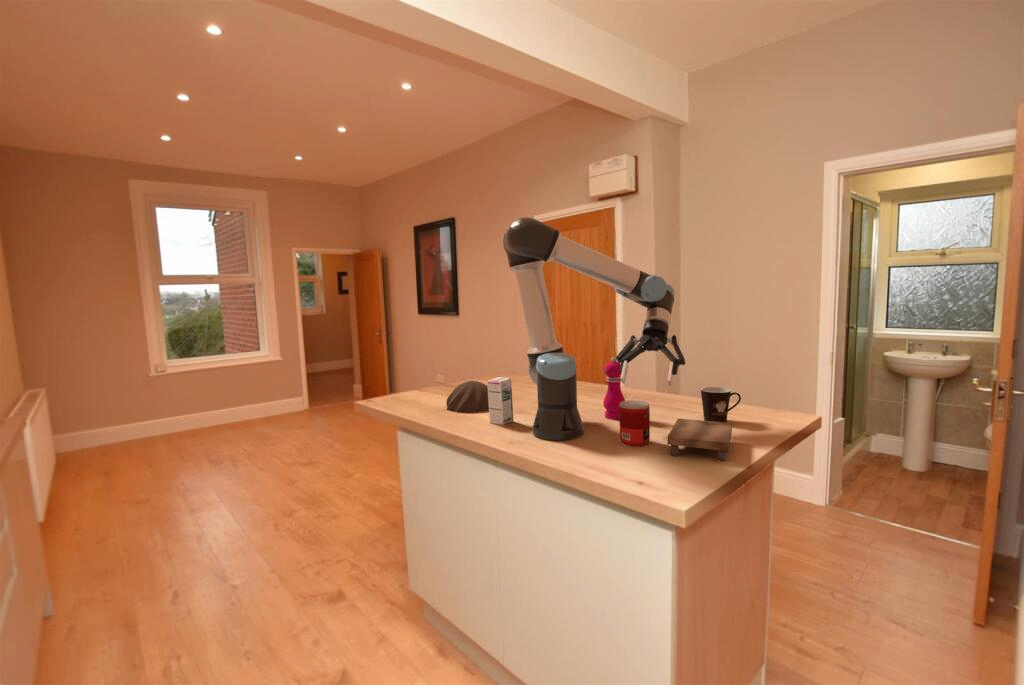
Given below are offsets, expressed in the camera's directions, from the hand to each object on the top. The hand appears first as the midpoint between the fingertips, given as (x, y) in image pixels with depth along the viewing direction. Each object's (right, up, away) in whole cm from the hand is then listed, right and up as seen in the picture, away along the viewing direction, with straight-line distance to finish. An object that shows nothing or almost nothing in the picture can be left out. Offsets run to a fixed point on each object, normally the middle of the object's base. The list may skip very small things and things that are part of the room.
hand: (645, 382), depth 141 cm
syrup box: (-42, -15, +18) cm, 49 cm away
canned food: (-5, -16, -7) cm, 19 cm away
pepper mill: (-5, -13, +19) cm, 24 cm away
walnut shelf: (+11, -16, -14) cm, 24 cm away
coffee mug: (+26, -13, +9) cm, 31 cm away
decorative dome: (-54, -13, +42) cm, 70 cm away
